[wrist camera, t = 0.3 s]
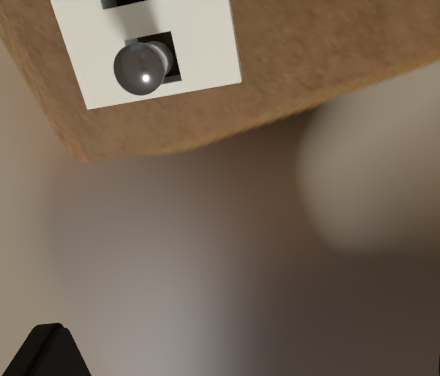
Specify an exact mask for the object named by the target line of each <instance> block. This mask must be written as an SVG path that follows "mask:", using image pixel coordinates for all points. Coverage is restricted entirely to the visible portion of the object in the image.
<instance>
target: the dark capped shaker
mask: <svg viewBox="0 0 440 376" xmlns="http://www.w3.org/2000/svg"><path fill="white" fill-rule="evenodd" d="M172 66H173V55H172V52H171V50H170V49H169V47H168V46H167V45H165V44H164V43H162V42H160V41H150V42H147V43H133V44H130V45H127V46H125V47H123V48H122V49H121V50H120V51H119V52H118V53H117V55H116V57H115V60H114V65H113V69H114V75H115V78H116V80H117V82H118V83H119V85H120V86H121V87H122V88H123V89H124V90H126V91H127V92H129V93H131V94H134V95H139V96H142V95H148V94H150V93H152V92H154V91H155V90H156V89H157V88H158V87H159V86H160V85H161V84H162V82H163V80H164V77H165V75H166V74H168V73H169V72H170V70H171V68H172Z"/></svg>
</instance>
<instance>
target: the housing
mask: <svg viewBox="0 0 440 376" xmlns="http://www.w3.org/2000/svg"><path fill="white" fill-rule="evenodd" d="M51 3H52V6H53V9H54V12H55V15H56V18H57V21H58V24H59V27H60V30H61V33H62V36H63V39H64V42H65V45H66V48H67V51H68V53H69V56H70V59H71V62H72V65H73V68H74V71H75V74H76V77H77V80H78V83H79V86H80V89H81V92H82V95H83V98H84V101H85V104H86V107H87V110H88V109H94V108H99V107H105V106H111V105H116V104H122V103H128V102H133V101H139V100H144V99H150V98H156V97H161V96H167V95H173V94H178V93H184V92H190V91H195V90H201V89H206V88H212V87H218V86H223V85H229V84H235V83H240V82H242V69H241V63H240V56H239V50H238V44H237V37H236V31H235V24H234V18H233V12H232V5H231V0H147V1H142V2H137V3H133V4H128V5H124V6H119V7H118V6H117V2H116V0H51ZM168 31H171V34H172V39H173V43H174V48H175V52H176V56H177V61H178V65H179V70H180V75H175V76H169V77H164V80H163V82H162V84H161V85H160V86H159V87H158V88H157V89H156V90H155V91H154V92H152V93H150V94H148V95H142V96H139V95H134V94H131V93H129V92H127V91H126V90H124V89H123V88H122V87H121V86H120V85H119V83H118V82H117V80H116V78H115V75H114V69H113V65H114V60H115V57H116V55H117V53H118V52H119V51H120V50H121V49H122V48H123V47H125V46H127V45H130V44H133V43H138V39H137V38H138V37H143V36H148V35H153V34H158V33H163V32H168Z"/></svg>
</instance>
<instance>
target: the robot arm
mask: <svg viewBox="0 0 440 376" xmlns="http://www.w3.org/2000/svg"><path fill="white" fill-rule="evenodd" d="M439 375H440V358H439ZM2 376H91V374H90V372H89V370H88V368H87V366H86V364H85V362H84V360H83V358H82V356H81V354H80V351H79V349H78V348H77V345H76V343H75V341H74V339H73V337H72V335H71V333H70V331H69V330H68V329H67V328H64V327H63V326H62V324H60V323H52V324H42V325H37V326H35V327H34V328H33V330H32V331H31V332H30V334H29V335H28V337H27V339H26V340H25V342H24V343H23V345H22V346H21V348H20V349H19V351H18V352H17V354H16V355H15V357H14V358H13V360H12V361H11V363H10V364H9V366H8V367H7V369H6V371H5V372H4V373H3V375H2Z"/></svg>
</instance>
